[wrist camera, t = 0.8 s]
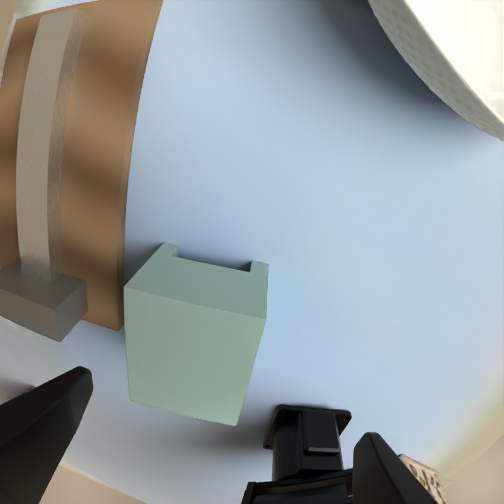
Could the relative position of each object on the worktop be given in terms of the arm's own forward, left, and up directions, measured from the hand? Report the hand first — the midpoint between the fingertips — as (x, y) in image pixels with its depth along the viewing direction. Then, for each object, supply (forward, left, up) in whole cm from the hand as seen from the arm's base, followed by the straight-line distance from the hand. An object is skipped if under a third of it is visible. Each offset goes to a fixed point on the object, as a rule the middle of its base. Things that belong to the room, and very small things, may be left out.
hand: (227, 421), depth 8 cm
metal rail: (+4, +14, -10) cm, 18 cm away
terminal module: (-4, +2, -12) cm, 12 cm away
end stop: (-4, +14, -11) cm, 19 cm away
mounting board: (+4, +14, -11) cm, 19 cm away
